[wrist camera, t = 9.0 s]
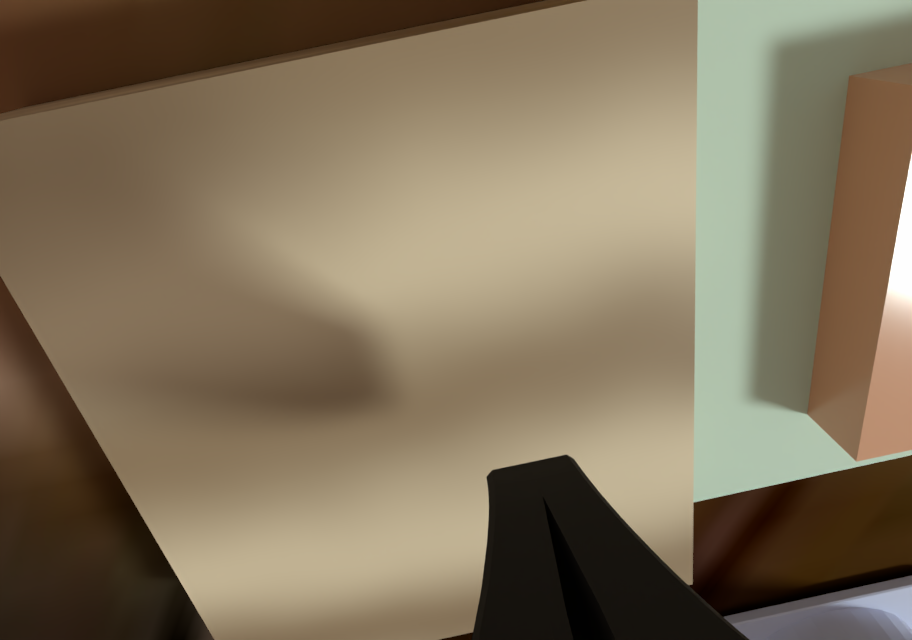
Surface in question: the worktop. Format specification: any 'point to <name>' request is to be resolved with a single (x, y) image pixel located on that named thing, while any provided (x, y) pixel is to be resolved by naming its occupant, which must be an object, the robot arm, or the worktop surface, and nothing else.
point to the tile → (869, 275)
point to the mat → (771, 224)
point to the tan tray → (374, 301)
